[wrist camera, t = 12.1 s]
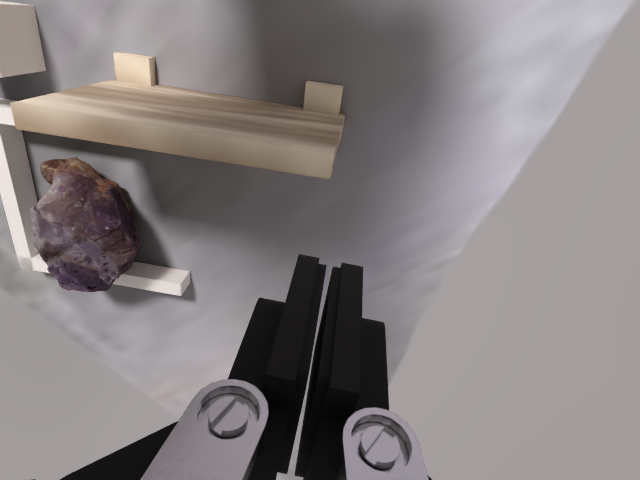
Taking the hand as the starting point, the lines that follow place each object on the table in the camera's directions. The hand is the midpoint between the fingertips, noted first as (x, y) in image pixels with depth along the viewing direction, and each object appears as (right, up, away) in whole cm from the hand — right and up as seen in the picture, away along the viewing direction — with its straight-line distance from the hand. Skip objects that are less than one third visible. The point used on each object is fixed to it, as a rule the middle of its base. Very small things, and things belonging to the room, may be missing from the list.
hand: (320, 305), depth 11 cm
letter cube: (-26, +19, +24) cm, 40 cm away
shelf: (-8, +13, +25) cm, 29 cm away
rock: (-21, +5, +31) cm, 38 cm away
